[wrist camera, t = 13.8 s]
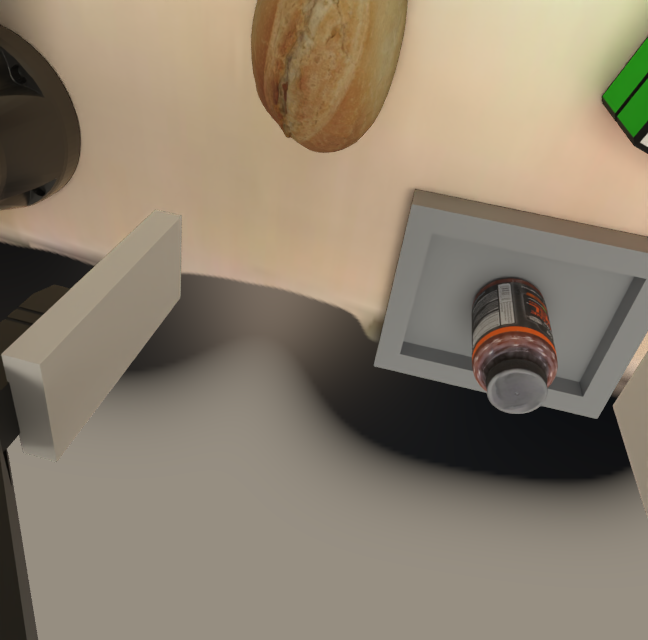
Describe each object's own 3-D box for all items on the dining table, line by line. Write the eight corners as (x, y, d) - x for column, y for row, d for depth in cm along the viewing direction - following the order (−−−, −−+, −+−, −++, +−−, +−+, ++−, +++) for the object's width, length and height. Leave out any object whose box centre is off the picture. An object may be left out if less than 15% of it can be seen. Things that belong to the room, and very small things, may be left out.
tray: (378, 346, 55) (373, 365, 53) (415, 189, 46) (412, 204, 43) (591, 396, 53) (597, 418, 51) (675, 242, 44) (687, 261, 41)
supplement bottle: (560, 312, 48) (582, 404, 39) (498, 345, 51) (505, 438, 42) (518, 261, 46) (531, 344, 37) (456, 299, 49) (454, 385, 40)
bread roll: (261, 126, 46) (227, 159, 39) (283, -108, 37) (243, -115, 30) (380, 153, 45) (365, 192, 38) (432, -79, 36) (423, -79, 30)
